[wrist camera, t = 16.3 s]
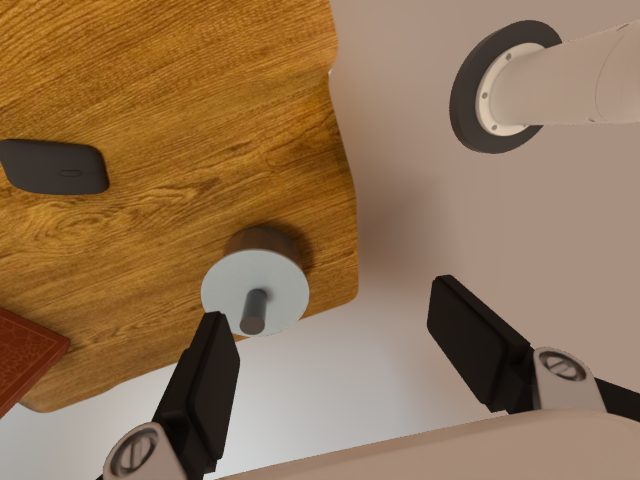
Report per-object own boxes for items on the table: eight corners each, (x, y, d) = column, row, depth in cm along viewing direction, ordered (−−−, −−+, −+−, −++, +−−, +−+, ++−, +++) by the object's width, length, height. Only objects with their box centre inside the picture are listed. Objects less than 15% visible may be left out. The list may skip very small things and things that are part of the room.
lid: (302, 239, 32) (306, 264, 26) (313, 322, 39) (318, 358, 33) (188, 254, 31) (165, 284, 25) (219, 338, 37) (206, 378, 31)
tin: (295, 221, 41) (299, 245, 32) (304, 287, 46) (309, 322, 38) (213, 232, 40) (193, 260, 31) (233, 298, 45) (221, 337, 37)
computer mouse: (111, 192, 35) (91, 199, 31) (19, 187, 33) (-13, 193, 30) (100, 146, 33) (77, 148, 29) (-1, 137, 31) (-38, 138, 27)
